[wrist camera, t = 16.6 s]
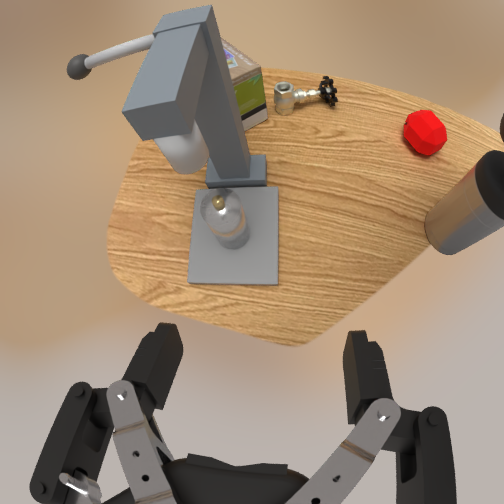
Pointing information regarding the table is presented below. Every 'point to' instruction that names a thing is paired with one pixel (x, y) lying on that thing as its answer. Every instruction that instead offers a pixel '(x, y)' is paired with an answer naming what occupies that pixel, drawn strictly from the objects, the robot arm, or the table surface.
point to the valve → (301, 95)
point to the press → (200, 138)
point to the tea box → (246, 86)
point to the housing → (225, 217)
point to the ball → (425, 132)
